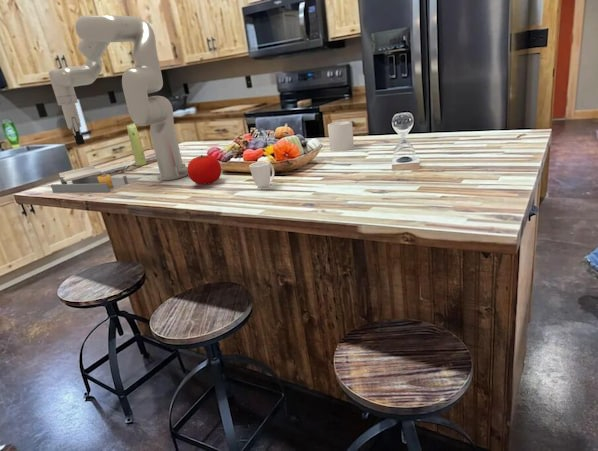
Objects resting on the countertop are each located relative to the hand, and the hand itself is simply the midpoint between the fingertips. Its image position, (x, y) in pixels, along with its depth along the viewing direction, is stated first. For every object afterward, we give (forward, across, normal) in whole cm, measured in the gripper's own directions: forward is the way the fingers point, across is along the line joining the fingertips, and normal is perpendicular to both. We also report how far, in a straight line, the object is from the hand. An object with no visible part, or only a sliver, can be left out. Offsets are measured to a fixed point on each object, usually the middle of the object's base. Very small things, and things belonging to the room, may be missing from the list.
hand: (80, 144), depth 182 cm
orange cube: (+15, +28, +3) cm, 32 cm away
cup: (+15, +82, +47) cm, 96 cm away
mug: (+15, +59, +96) cm, 113 cm away
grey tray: (+15, +18, +1) cm, 24 cm away
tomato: (+15, +59, +34) cm, 70 cm away
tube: (+16, -7, +23) cm, 29 cm away
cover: (+15, +9, -4) cm, 18 cm away
